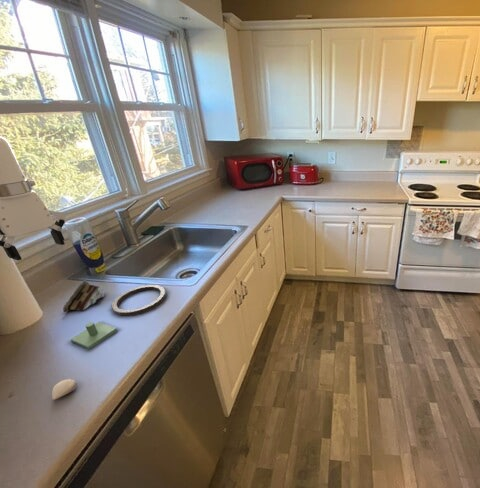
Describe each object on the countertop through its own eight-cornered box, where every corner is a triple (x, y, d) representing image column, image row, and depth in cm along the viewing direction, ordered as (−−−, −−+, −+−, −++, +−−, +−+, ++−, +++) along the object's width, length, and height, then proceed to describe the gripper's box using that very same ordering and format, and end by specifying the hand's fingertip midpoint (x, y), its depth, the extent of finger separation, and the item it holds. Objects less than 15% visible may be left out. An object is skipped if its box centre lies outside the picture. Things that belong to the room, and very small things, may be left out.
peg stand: (71, 341, 81) (65, 330, 79) (100, 324, 88) (94, 312, 86) (89, 349, 79) (83, 337, 77) (117, 330, 85) (112, 319, 84)
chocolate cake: (83, 316, 92) (100, 281, 96) (60, 311, 91) (78, 276, 95) (99, 317, 101) (114, 285, 105) (78, 313, 100) (94, 280, 104)
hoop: (102, 309, 95) (100, 306, 94) (144, 284, 108) (143, 281, 108) (135, 320, 89) (134, 317, 89) (175, 293, 103) (174, 289, 102)
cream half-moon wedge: (81, 383, 69) (77, 376, 68) (65, 402, 64) (60, 395, 63) (63, 384, 69) (59, 377, 68) (46, 403, 64) (41, 396, 63)
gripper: (42, 180, 77) (67, 237, 85) (-52, 197, 63) (-11, 263, 70) (58, 182, 75) (83, 240, 82) (-35, 200, 60) (5, 268, 68)
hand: (39, 251), depth 76 cm, fingers open, 9 cm apart
